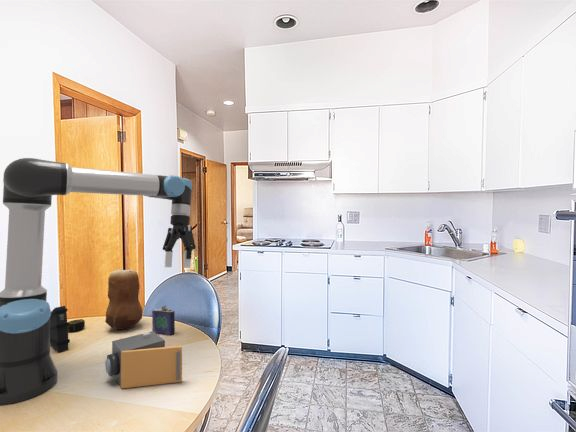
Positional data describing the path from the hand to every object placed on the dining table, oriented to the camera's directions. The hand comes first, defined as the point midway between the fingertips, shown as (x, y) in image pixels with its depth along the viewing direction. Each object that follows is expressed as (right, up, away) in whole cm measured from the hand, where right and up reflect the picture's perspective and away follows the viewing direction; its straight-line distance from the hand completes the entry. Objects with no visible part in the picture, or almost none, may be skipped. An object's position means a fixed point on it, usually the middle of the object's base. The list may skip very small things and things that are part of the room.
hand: (177, 267), depth 124 cm
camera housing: (-2, -27, -31) cm, 41 cm away
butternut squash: (-25, -27, +6) cm, 37 cm away
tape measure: (-45, -27, +4) cm, 53 cm away
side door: (+6, -27, -37) cm, 46 cm away
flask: (-6, -27, +1) cm, 28 cm away
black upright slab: (-39, -27, -12) cm, 49 cm away
